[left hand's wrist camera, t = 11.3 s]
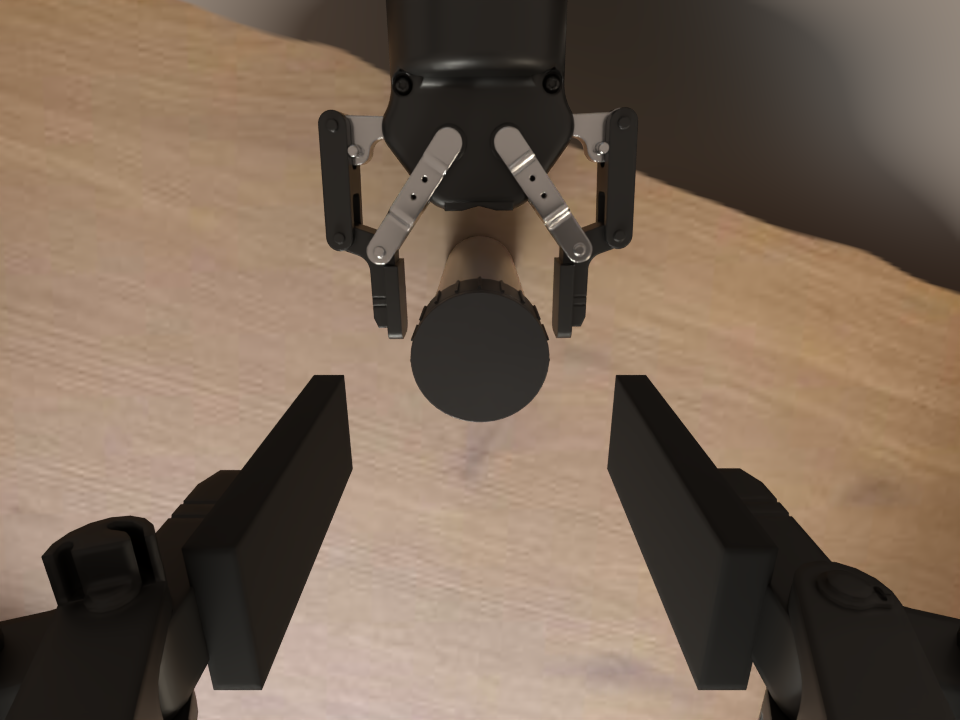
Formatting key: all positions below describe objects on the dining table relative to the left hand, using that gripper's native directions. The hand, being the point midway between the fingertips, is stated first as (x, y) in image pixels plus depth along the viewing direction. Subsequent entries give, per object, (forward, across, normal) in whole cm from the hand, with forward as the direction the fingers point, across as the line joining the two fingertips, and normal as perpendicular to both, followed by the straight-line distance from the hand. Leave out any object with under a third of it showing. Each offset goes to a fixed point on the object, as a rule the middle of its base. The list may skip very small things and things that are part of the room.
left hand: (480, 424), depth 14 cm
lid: (+5, 0, 0) cm, 5 cm away
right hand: (+14, 0, -2) cm, 14 cm away
